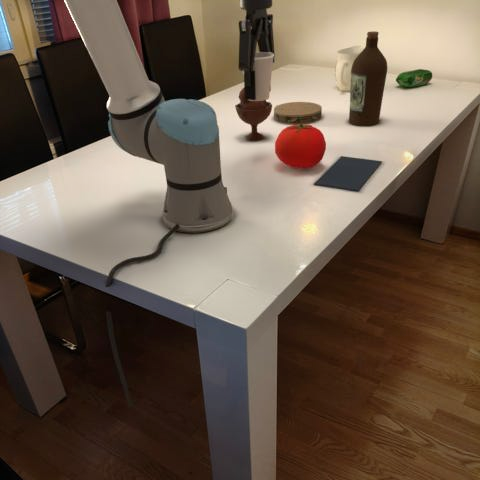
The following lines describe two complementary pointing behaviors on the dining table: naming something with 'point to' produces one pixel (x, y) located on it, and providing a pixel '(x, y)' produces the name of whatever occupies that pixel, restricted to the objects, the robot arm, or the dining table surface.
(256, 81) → the dixie cup
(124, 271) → the dining table surface
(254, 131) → the ice cream bowl
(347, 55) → the pitcher
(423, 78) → the snack package
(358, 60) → the olive oil
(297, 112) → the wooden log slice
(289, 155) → the tomato
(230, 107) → the dining table surface
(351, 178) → the placemat
